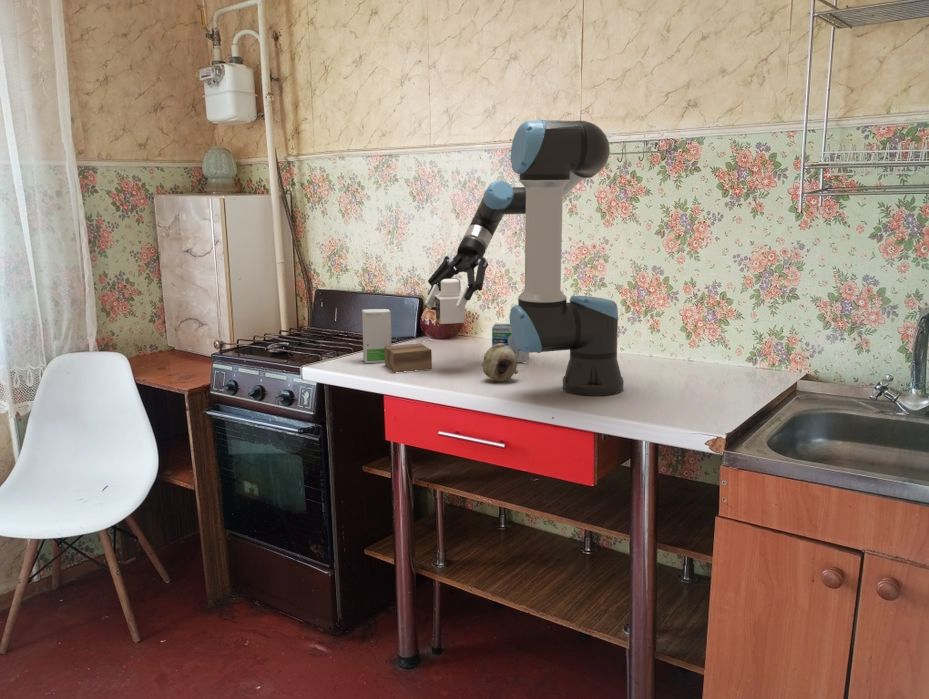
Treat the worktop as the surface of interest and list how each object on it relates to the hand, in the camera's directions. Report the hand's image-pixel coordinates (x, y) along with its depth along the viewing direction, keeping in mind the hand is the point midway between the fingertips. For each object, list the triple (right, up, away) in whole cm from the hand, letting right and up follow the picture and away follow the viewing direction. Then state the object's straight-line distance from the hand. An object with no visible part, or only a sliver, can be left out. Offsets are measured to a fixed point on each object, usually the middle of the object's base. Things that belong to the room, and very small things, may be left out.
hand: (443, 307), depth 205 cm
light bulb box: (+20, -15, +19) cm, 31 cm away
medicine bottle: (+2, -4, +3) cm, 6 cm away
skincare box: (-20, -15, +22) cm, 34 cm away
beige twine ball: (+15, -20, -6) cm, 26 cm away
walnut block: (-11, -17, +12) cm, 23 cm away
